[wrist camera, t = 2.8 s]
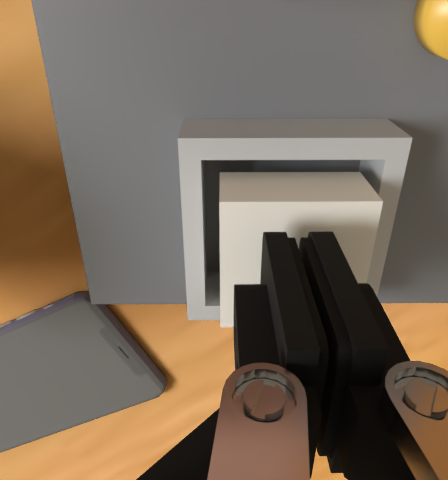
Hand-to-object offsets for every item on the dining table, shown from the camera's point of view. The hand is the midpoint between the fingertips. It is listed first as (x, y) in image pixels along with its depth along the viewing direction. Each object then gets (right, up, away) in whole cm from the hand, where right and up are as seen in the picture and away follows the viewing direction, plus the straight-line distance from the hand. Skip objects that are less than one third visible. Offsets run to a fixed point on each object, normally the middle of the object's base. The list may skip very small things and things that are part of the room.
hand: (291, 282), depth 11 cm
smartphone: (-13, -7, +13) cm, 19 cm away
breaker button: (0, +1, +2) cm, 3 cm away
